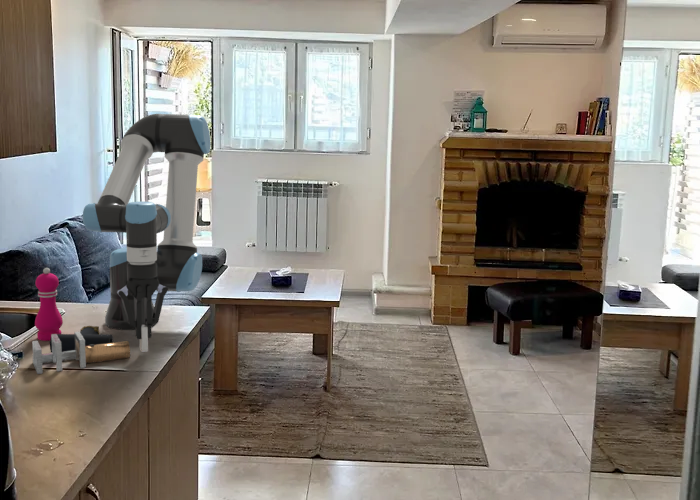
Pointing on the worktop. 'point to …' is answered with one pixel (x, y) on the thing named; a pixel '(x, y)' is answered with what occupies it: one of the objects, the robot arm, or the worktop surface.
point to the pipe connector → (88, 334)
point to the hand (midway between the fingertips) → (143, 350)
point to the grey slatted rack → (59, 353)
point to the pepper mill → (47, 306)
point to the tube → (107, 351)
